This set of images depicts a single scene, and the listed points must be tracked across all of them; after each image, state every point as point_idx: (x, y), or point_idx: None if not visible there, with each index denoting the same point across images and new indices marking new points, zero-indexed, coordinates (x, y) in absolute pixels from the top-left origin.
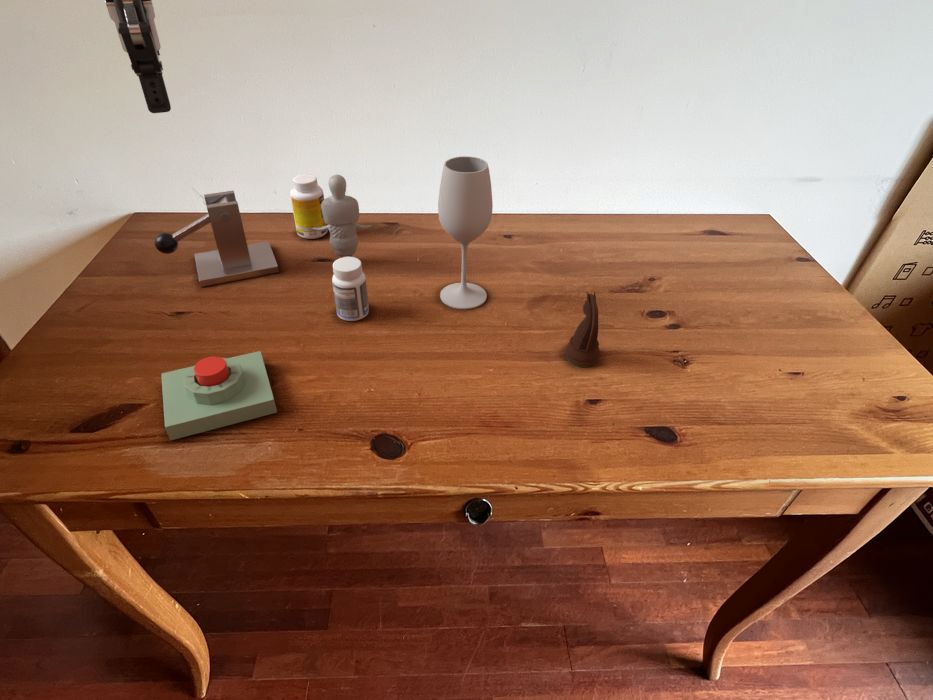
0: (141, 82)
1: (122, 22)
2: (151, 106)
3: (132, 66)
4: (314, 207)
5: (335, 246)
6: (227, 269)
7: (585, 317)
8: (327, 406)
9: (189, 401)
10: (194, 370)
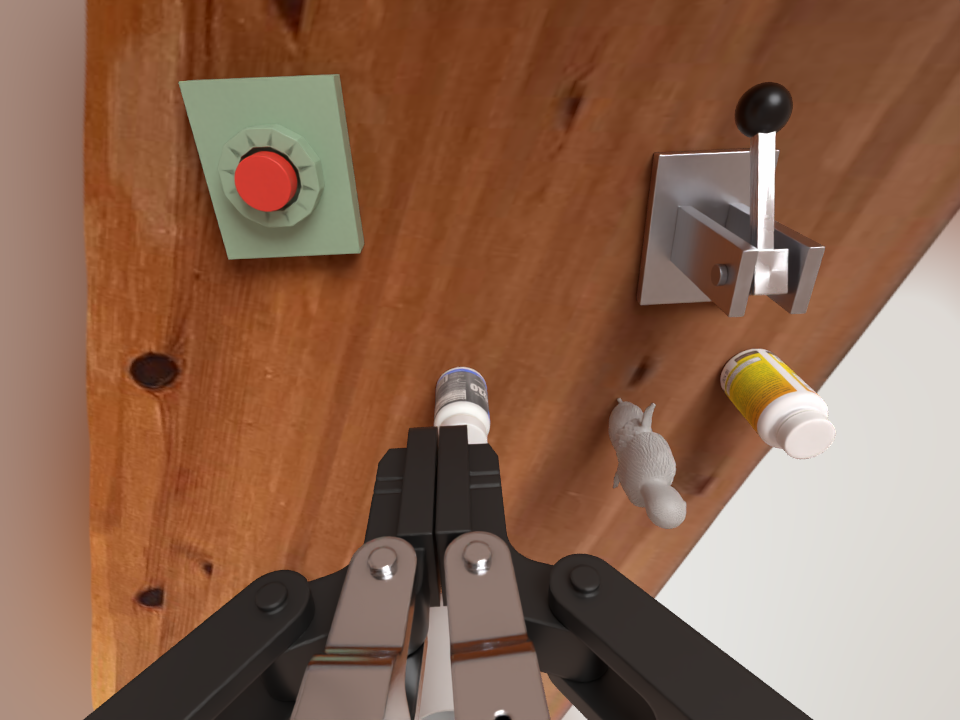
0: (399, 516)
1: None
2: (385, 456)
3: (254, 605)
4: (748, 415)
5: (620, 412)
6: (674, 214)
7: None
8: (242, 317)
9: (242, 126)
10: (253, 156)
